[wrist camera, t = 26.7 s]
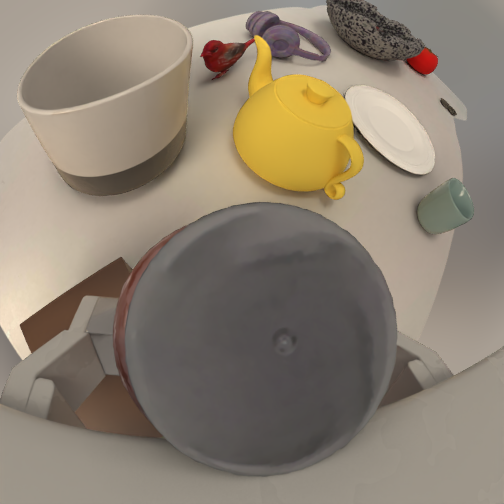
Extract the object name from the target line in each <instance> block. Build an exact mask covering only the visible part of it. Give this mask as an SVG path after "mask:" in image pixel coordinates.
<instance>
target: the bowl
mask: <svg viewBox="0 0 504 504" xmlns="http://www.w3.org/2000/svg"><path fill="white" fill-rule="evenodd" d="M326 3H327V6H328V7H327V12H328V15H329V17H330V21H331V23H332V25H333V27H334V28H335V29H336V31H337V32H338V35H340V36H341V37H342V38H343V40H344V41H346V42H347V43H348V44H349V45H350V46H351V47H353V48H354V49H356V50H357V51H359V52H361V53H363V54H365V55H368V56H370V57H373V58H377V59H382V60H403V59H404V60H406V59H408V58H412V57H415V56H417V55H419V54H420V53H421V52H422V51H423V49H424V47H425V45H424V43H423V42H422V41H421V40H420V39H418V38H417V39H416V38H415V37H414V36H412V35H411V34H410V33H411V31H410V30H409V29H408V28H407V27H405V26H404V25H403V24H400V23H399V22H397V21H394V20H389V19H388V18H386V17H385V16H383V15H381V14H380V13H379V12H378V11H377V7H376V6H374V5H372V4H370V3H368V2H366V1H364V0H327V1H326Z"/></svg>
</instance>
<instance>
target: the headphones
mask: <svg viewBox="0 0 504 504" xmlns="http://www.w3.org/2000/svg"><path fill="white" fill-rule="evenodd" d="M246 29H247V30H249V32H250V34H251V35H252V36H256V35H257V36H260V37H261V38H263V39H264V40H265V41H266V42H267V44H268V45H269V47H270V50H271V55H272V56H275V57H280V58H283V57H289V56H291V55H297V56H301V57H304V58H307V59H311V60H319V61H325V60H326V59H327V58H328V56H329V55H330V53H331V49H330V46H329V45H328V43H327V42H326V41H324V39H323V38H321V37H320V36H318V35H317V34H315V33H313V32H311V31H309V30H307V29H305V28H303V27H300V26H297V25H295V24H292V23H288V22H284V21H281V20H280V19H279V17H278V16H277V15H276V14H274V13H271V12H269V11H266V12H262V11H257V12H255V13H253V14H252V15H251V16H250V17H249V18H248V20H247V22H246ZM297 33H299V34H300V35H302V36H304V37H305V38H306V39H308V40H309V41H310V42H311V43H313V44H314V45H315V46H316V47H317V48H318V49H319V50H320V51H321V52H322V53H323V54H324V55H323V56H319V55H318V54H315V53H311V52H308V51H305V50H302V49H300V48H299V45H300V38H299V35H298V34H297Z"/></svg>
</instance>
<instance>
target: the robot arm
mask: <svg viewBox="0 0 504 504" xmlns="http://www.w3.org/2000/svg"><path fill="white" fill-rule="evenodd" d="M118 299H119V298H113V297H101V296H100V297H99V296H87V295H86V296H85V297H83V299H82V301H81V303H80V305H79V307H78V310H77V312H76V314H75V316H74V318H73V321H72V323H71V325H70V328H69V330H64V331H62V332H61V333H59V334H58V335H57V336H55V337H54V338H52V339H51V340H50V341H48V342H47V343H46V344H44V345H43V346H41V347H40V348H39V349H37V350H36V351H35V352H33V353H32V354H31V355H29V356H28V357H27V358H25V359H24V360H23V361H21V362H20V363H19V364H17V365H16V366H15V367H13V368H12V370H11V372H10V374H9V377H8V379H7V382H6V384H5V387H4V390H3V392H2V395H1V398H0V504H504V346H503V347H502V348H500V349H499V350H497V351H496V352H494V353H492V354H491V355H490V356H488V357H486V358H484V359H483V360H481V361H479V362H478V363H476V364H474V365H473V366H471V367H469V368H467V369H465V370H464V371H462V372H460V373H458V374H456V375H453V374H452V373H451V371H450V370H449V368H448V367H447V366H446V364H445V363H444V362H443V360H442V359H441V358H440V356H439V355H438V354H437V353H436V352H435V351H433V350H432V349H430V348H428V347H426V346H424V345H423V344H421V343H419V342H417V341H415V340H413V339H412V338H410V337H408V336H406V335H404V334H402V333H401V332H399V331H397V343H396V344H397V351H396V360H395V365H394V369H393V372H392V375H391V379H390V382H389V386H388V389H387V391H386V393H385V395H384V396H383V398H382V400H381V402H380V404H379V406H378V408H377V410H376V412H375V414H374V416H373V417H372V418H371V419H370V420H369V422H368V423H367V424H366V426H365V427H364V428H363V429H362V430H361V431H360V432H359V433H358V434H357V435H356V436H355V437H354V438H353V439H351V441H350V442H349V443H348V444H347V445H346V446H345V447H344V448H342V449H340V450H337V451H336V452H335V453H333V454H332V455H331V456H329V457H327V458H325V459H323V460H322V461H320V462H318V463H316V464H313V465H311V466H309V467H306V468H304V469H301V470H298V471H294V472H291V473H288V474H281V475H272V476H265V477H261V476H241V475H234V474H232V473H230V472H225V471H221V470H217V469H214V468H212V467H209V466H206V465H204V464H201V463H199V462H196V461H195V460H193V459H191V458H190V457H188V456H186V455H185V454H183V453H182V452H180V451H179V450H177V449H176V448H175V447H174V446H173V445H171V444H170V443H169V442H168V441H167V440H166V439H165V438H155V437H142V436H131V435H122V434H114V433H107V432H101V431H95V430H90V429H86V427H85V425H84V424H83V423H82V422H81V420H80V419H79V418H78V416H77V415H76V414H75V411H76V410H77V409H78V408H79V407H80V405H81V404H82V403H83V402H84V401H85V399H86V398H87V397H88V396H89V395H90V394H91V392H92V391H93V390H94V389H95V388H96V387H97V385H98V384H99V383H100V382H101V381H102V380H103V378H104V377H105V375H117V376H120V374H119V371H118V369H117V367H116V361H115V356H114V348H113V325H114V316H115V313H116V308H117V303H118Z"/></svg>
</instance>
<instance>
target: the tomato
mask: <svg viewBox="0 0 504 504" xmlns="http://www.w3.org/2000/svg"><path fill="white" fill-rule="evenodd" d="M407 61H408V63H409V64H410V65H411V66H412V67H413V68H414V69H415V70H416V71H418V72H419V73H422V74H430V73H432V72H433V71H434V69H435V68H436V66H437V64H438V58H437V57H436V56H435V54H433V53H432V52H431V50H430V49H428V48H426V47H424V49H423V51H422V52H421V53H420V54H419V55H417V56H415V57H412V58H408V59H407Z"/></svg>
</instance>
